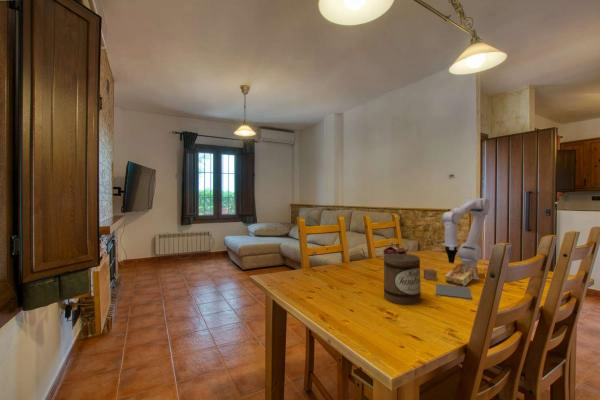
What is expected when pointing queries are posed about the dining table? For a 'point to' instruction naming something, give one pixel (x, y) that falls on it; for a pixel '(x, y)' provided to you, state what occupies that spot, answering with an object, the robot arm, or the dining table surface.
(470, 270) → the candy box
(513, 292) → the dining table surface
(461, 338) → the dining table surface
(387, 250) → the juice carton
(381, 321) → the dining table surface
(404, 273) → the wooden container
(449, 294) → the mat
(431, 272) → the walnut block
